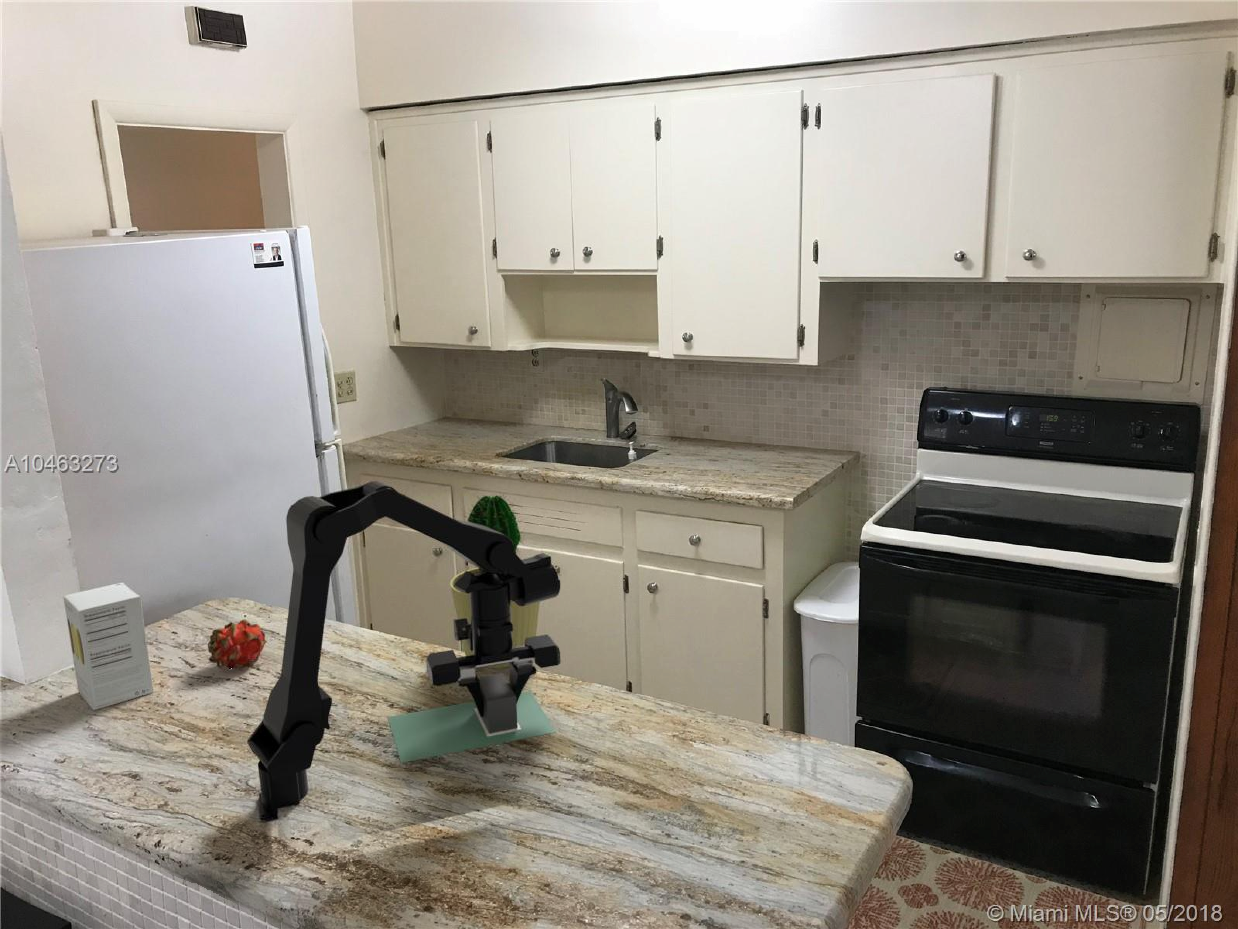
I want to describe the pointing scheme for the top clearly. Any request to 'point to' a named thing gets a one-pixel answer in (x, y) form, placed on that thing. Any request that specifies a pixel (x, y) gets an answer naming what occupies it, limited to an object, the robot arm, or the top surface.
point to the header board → (461, 729)
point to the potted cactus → (523, 618)
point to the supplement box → (108, 645)
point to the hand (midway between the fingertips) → (496, 713)
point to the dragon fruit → (236, 644)
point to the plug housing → (498, 703)
